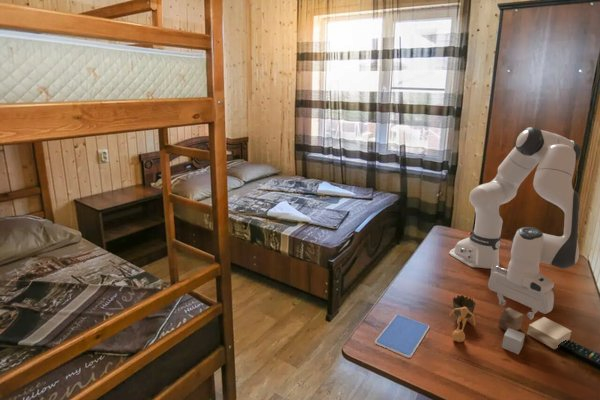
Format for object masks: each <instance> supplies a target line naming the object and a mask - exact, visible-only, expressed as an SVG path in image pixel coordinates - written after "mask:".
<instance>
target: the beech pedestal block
mask: <svg viewBox="0 0 600 400" xmlns="http://www.w3.org/2000/svg"><path fill="white" fill-rule="evenodd" d="M526 335H529V336H530V337H532V338H534V339H535V340H537V341H538V342H541V343H542V344H545V345H546V346H547V347H549V348H551V349H553V350H557V349H558V348H559V347H558V345H559V344H560V343H561V342H563V341H565V340H569V341H570V338H571V336H572V330H571V329H569V328H567V327H565V326H563V325H561V324H559V323H557V322H555V321H553V320H552V319H549V318H547V317H545V316H543V317H541V318H539V319H537V320H535V321H533V322H531V323H530V324H528V328H527V332H526Z"/></svg>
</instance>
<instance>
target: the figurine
mask: <svg viewBox="0 0 600 400" xmlns="http://www.w3.org/2000/svg"><path fill="white" fill-rule="evenodd" d="M455 310H460V312H461V316H458V320H457V319H456V323H457V328H456V329H454V330H453V332H452V339H453V340H454V342H457V343H462V342H464V341H465V339H466V334H465V332H464V329H465V326H466V324H467V321H468V319H467V318H465V317H466V315H467V313H469V314H470V315H472V316H471V317H472V320H473V322H474V323H473V326H476V319H475V315H474V313H473V314H472V313H471V312H470V311H469V310H468V308H467V307H462V308H455V309H454V310H453V309H452V311H451V312H450V313H449V315H448V316H449V318H450V317H451V316H452V314H454V311H455ZM461 319H462V320H463V321H462V322H461ZM460 323H462V328H461V329H460V325H461V324H460Z"/></svg>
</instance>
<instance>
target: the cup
mask: <svg viewBox="0 0 600 400" xmlns="http://www.w3.org/2000/svg"><path fill="white" fill-rule="evenodd" d="M476 304H477V303H476V301H475V300H473V299H472V298H471V297H469V298H468V296H466V297H465V296H464V295H457V296H456V297H455V296H454V297H453V299H452V311H453V310H454V309H455V308H462V307H467V308H468V310H469V311H470V312H471V313H472V314H473V315H474V311H475V307H476ZM453 314H454V315H455V318H456V321H457V320H458V316H461V312H460V310H455V311H454V312H453ZM471 317H473V316H472V315H470V314H469V313H467V315H466V317H465V318H467V320H468V319H470V318H471ZM462 321H463V320H462V319H461V322H460V323H463V322H462Z"/></svg>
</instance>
